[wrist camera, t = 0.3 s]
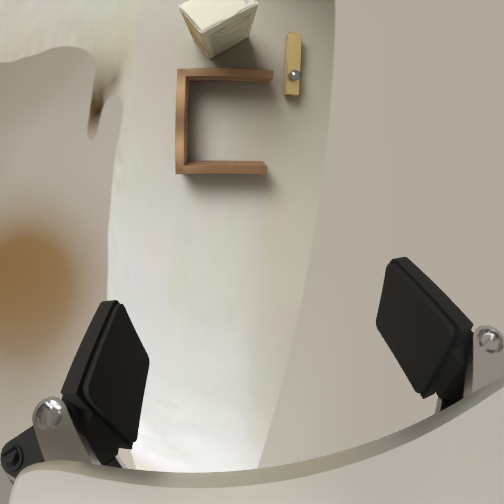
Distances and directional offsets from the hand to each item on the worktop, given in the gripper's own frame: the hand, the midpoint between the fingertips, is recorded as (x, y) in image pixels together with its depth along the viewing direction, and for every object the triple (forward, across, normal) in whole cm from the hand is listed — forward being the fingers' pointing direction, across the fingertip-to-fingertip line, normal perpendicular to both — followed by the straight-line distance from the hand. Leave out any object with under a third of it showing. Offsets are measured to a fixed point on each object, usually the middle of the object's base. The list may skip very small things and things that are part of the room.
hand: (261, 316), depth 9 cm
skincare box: (+30, -1, -18) cm, 35 cm away
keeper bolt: (+29, -9, -14) cm, 34 cm away
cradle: (+30, 0, -6) cm, 30 cm away
